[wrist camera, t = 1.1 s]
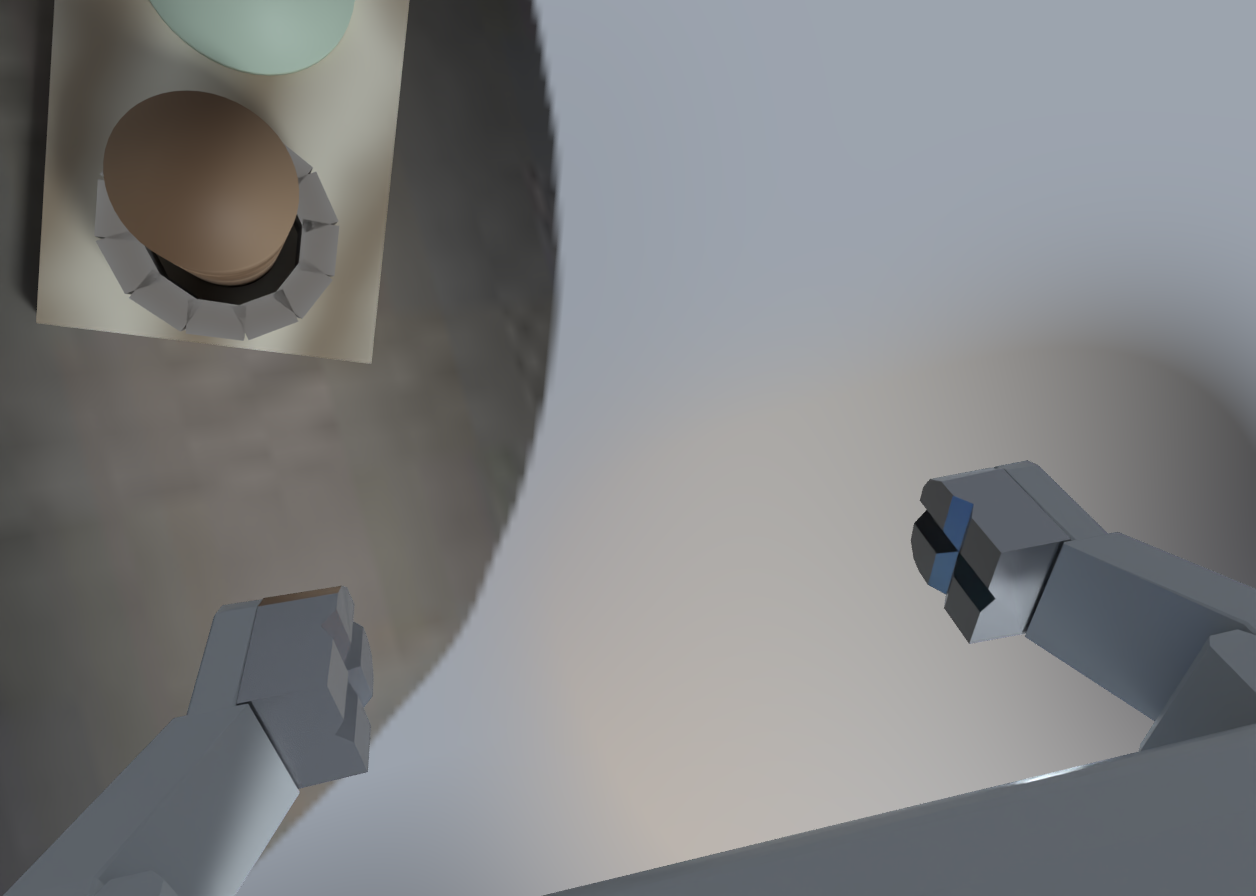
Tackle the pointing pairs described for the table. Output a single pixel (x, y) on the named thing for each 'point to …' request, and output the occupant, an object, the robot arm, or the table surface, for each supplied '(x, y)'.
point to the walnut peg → (203, 185)
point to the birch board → (287, 103)
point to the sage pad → (259, 31)
